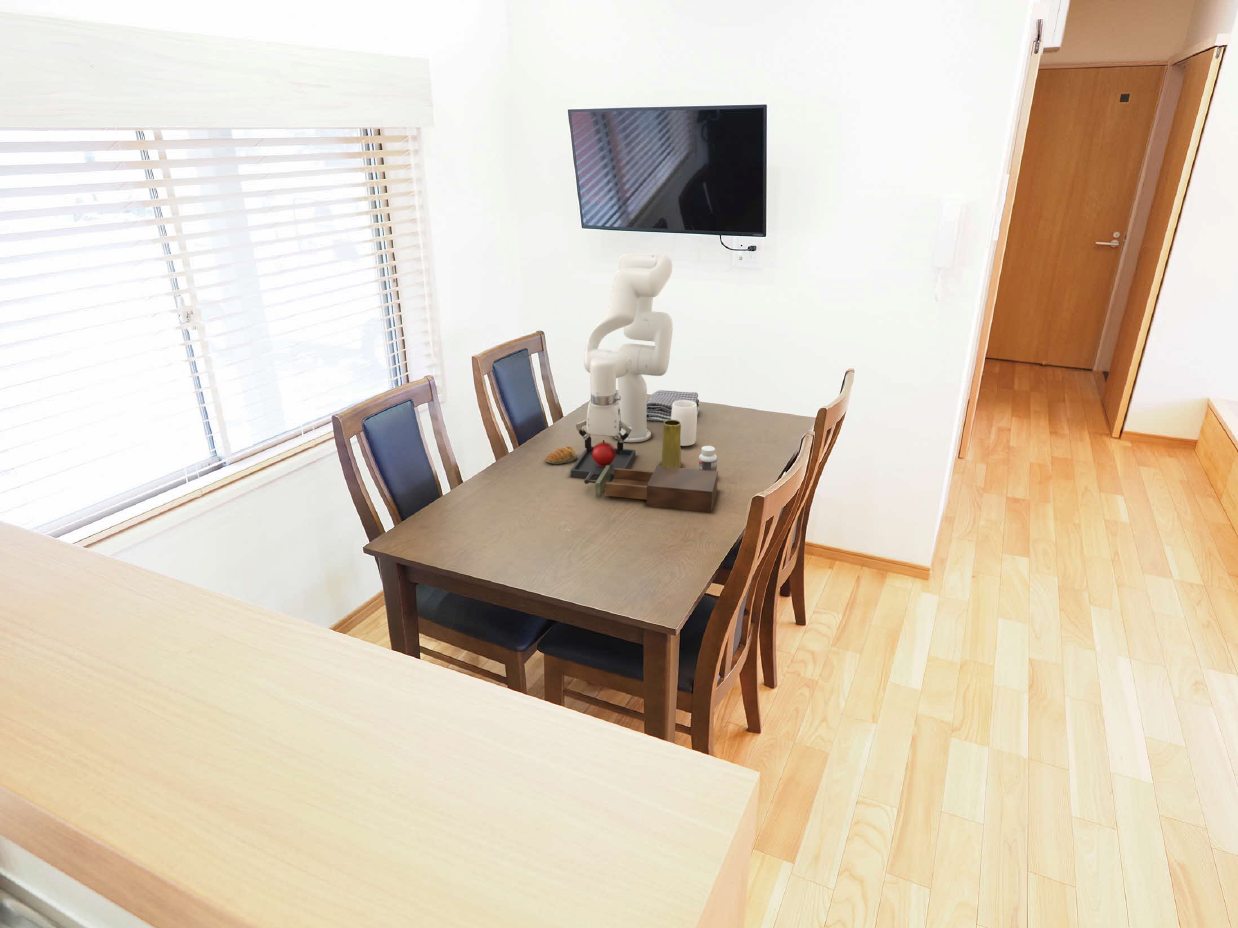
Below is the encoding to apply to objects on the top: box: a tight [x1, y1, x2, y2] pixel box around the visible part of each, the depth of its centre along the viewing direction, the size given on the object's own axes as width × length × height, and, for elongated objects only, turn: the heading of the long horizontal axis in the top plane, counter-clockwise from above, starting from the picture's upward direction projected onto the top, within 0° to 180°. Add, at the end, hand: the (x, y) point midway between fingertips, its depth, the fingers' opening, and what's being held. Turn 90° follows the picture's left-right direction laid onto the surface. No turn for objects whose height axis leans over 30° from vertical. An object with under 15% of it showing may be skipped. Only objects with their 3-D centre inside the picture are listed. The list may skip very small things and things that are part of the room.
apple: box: [592, 439, 616, 467], centre depth 240 cm, size 7×7×8 cm
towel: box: [647, 389, 700, 422], centre depth 281 cm, size 15×18×8 cm
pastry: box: [545, 445, 578, 465], centre depth 245 cm, size 9×7×4 cm
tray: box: [570, 445, 637, 482], centre depth 241 cm, size 20×16×2 cm
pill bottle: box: [697, 445, 718, 471], centre depth 231 cm, size 5×5×10 cm
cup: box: [671, 400, 698, 447], centre depth 255 cm, size 8×8×14 cm
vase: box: [660, 420, 682, 468], centre depth 239 cm, size 6×6×14 cm
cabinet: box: [646, 465, 719, 513], centre depth 220 cm, size 18×14×6 cm
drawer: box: [583, 465, 654, 501], centre depth 223 cm, size 21×13×4 cm, turn 77°
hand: (604, 451), depth 240 cm, fingers open, 9 cm apart
